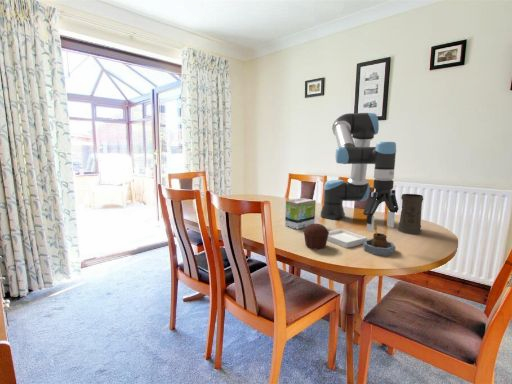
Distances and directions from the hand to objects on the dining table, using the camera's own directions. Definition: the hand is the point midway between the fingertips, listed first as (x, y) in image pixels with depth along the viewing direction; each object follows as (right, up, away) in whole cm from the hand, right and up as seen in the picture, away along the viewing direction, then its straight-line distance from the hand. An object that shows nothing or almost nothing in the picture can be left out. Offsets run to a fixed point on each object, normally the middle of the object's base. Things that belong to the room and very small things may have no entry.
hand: (380, 229), depth 118 cm
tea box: (-28, -4, +41) cm, 49 cm away
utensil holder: (0, -10, +2) cm, 10 cm away
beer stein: (+29, -5, +31) cm, 43 cm away
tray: (-11, -7, +15) cm, 20 cm away
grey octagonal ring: (0, -9, +2) cm, 10 cm away
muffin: (-26, -9, +7) cm, 29 cm away
